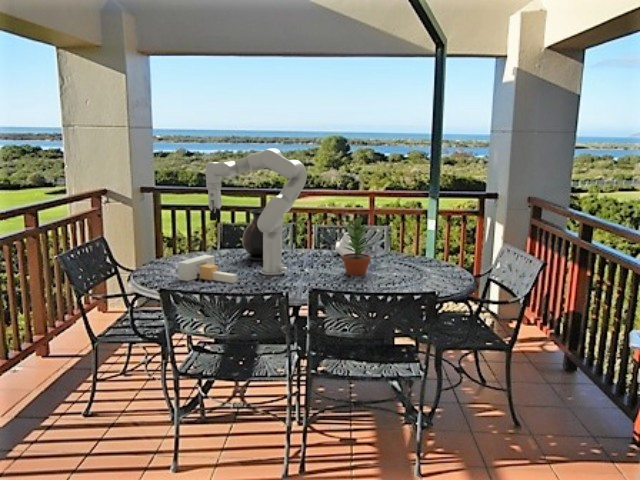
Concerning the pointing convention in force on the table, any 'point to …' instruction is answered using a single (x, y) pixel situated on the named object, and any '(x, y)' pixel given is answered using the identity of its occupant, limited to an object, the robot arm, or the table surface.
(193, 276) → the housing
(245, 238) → the amphora vase
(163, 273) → the table surface
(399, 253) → the table surface
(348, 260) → the potted plant
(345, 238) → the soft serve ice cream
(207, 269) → the plug
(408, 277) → the table surface
